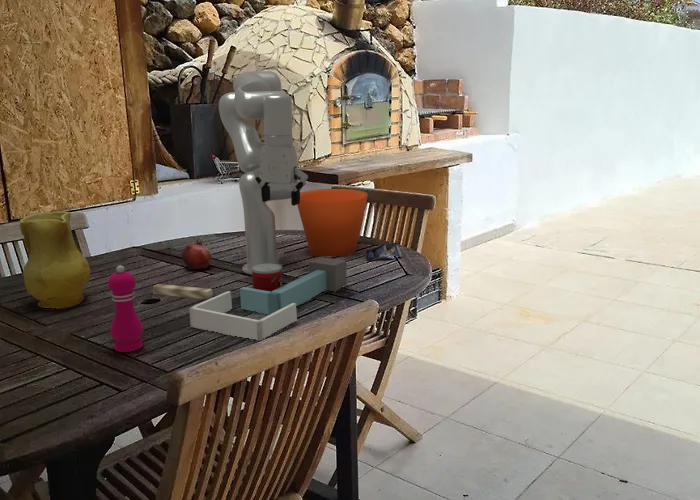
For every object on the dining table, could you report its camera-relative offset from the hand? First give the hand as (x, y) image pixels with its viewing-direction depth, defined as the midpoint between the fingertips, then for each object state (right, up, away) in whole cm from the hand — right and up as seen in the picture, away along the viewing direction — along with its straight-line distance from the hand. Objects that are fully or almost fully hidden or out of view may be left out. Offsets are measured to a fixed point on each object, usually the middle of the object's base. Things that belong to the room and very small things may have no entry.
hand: (280, 202), depth 195 cm
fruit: (-30, -19, +33) cm, 48 cm away
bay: (-8, -32, -18) cm, 37 cm away
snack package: (+30, -16, +40) cm, 53 cm away
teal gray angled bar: (+4, -27, +2) cm, 27 cm away
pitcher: (-62, -28, +3) cm, 68 cm away
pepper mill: (-32, -36, -31) cm, 57 cm away
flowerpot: (+13, -14, +51) cm, 54 cm away
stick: (-29, -26, +6) cm, 39 cm away
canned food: (-3, -29, -5) cm, 29 cm away
